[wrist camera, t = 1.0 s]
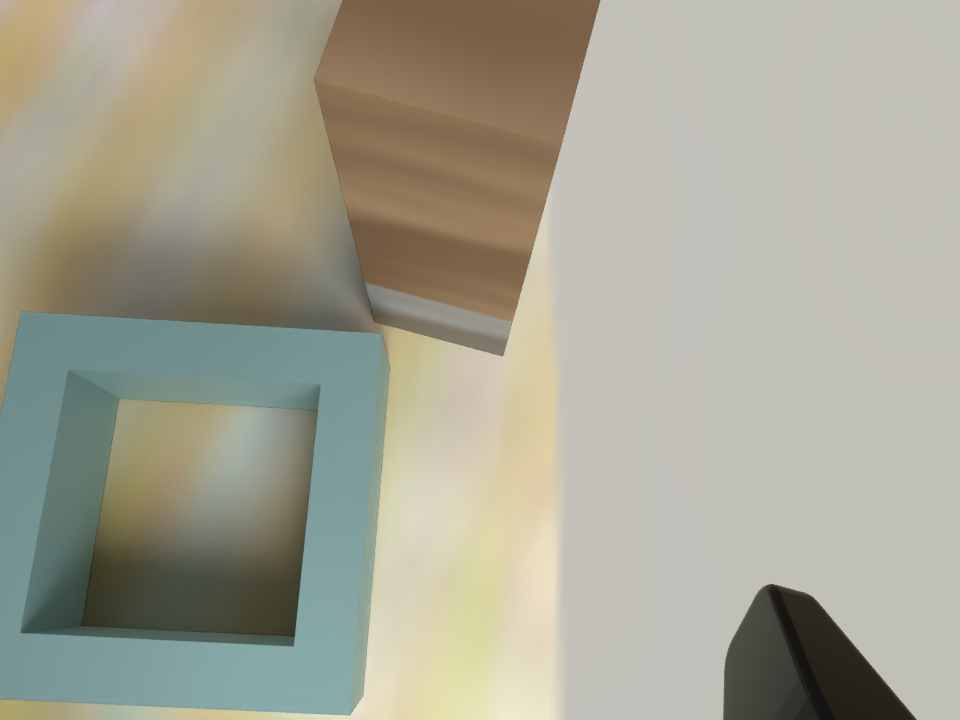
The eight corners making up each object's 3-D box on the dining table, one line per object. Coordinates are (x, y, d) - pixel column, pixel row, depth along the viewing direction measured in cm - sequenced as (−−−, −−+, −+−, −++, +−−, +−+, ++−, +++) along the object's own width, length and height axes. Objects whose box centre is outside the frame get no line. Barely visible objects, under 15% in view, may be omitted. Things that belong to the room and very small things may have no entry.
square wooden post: (502, 356, 22) (560, 145, 11) (374, 322, 22) (313, 79, 11) (534, 237, 23) (617, -62, 12) (411, 204, 23) (386, -121, 12)
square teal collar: (363, 696, 20) (350, 715, 17) (17, 679, 19) (-57, 696, 17) (389, 366, 22) (382, 333, 19) (77, 347, 22) (20, 311, 19)
